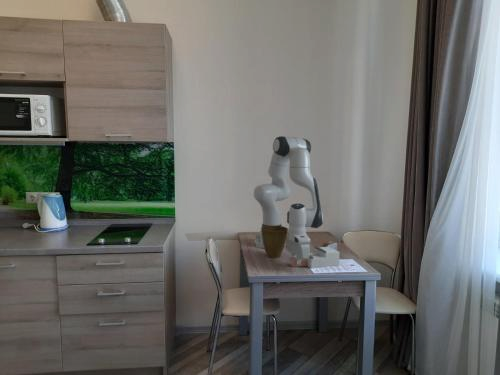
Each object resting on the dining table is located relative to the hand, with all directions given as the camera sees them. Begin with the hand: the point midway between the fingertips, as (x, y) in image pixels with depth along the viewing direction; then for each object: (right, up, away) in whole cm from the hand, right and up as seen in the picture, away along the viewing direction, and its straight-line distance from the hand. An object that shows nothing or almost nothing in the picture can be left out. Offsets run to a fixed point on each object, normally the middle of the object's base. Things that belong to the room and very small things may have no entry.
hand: (296, 262), depth 171 cm
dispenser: (+13, -1, +4) cm, 14 cm away
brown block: (+4, -2, +1) cm, 4 cm away
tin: (+21, 0, +18) cm, 28 cm away
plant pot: (-10, 0, +17) cm, 20 cm away
